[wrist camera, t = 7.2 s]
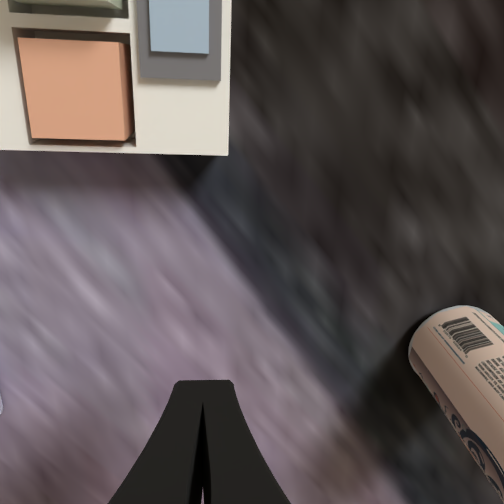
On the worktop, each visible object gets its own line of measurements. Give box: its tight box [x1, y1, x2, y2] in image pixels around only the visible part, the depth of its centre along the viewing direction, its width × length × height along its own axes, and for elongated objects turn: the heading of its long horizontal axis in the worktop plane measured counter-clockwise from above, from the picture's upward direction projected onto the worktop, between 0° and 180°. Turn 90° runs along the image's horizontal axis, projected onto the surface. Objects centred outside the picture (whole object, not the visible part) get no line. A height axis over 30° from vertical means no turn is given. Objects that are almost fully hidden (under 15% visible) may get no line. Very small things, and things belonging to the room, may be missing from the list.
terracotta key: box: [17, 37, 135, 141], centre depth 15 cm, size 3×3×2 cm
